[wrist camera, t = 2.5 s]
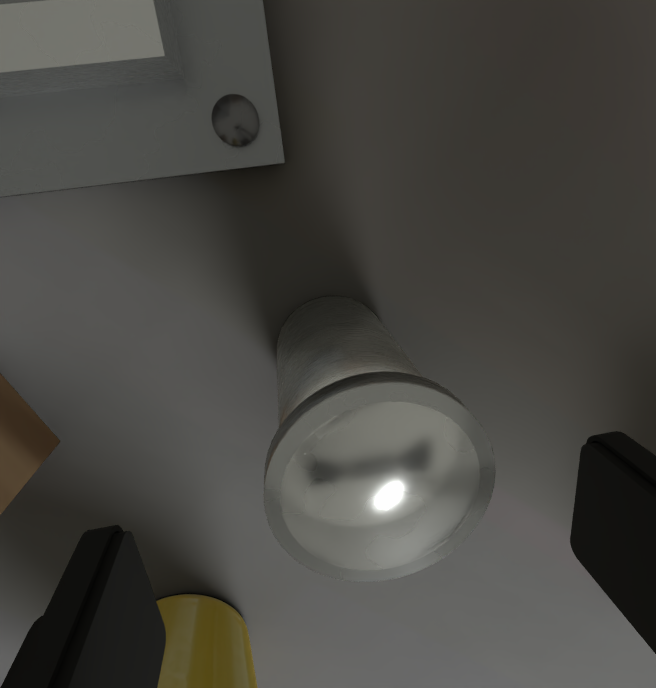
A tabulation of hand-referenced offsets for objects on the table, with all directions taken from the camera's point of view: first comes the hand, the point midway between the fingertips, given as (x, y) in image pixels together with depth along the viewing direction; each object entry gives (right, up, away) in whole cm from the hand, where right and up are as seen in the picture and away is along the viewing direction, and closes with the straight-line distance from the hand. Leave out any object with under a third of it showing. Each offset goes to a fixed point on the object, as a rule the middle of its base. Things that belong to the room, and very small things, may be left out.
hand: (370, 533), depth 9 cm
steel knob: (-1, +4, +11) cm, 12 cm away
